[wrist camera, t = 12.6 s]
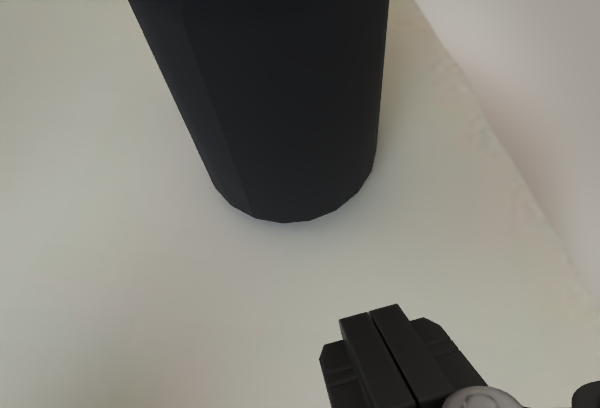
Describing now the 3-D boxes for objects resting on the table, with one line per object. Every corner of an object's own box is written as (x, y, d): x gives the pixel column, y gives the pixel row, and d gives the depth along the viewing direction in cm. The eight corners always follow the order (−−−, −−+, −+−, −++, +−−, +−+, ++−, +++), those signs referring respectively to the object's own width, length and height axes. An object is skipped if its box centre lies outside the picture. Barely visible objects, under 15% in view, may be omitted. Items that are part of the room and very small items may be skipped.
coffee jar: (397, 117, 33) (442, -212, 17) (340, 256, 28) (330, -16, 13) (254, 79, 36) (179, -234, 20) (182, 200, 31) (12, -80, 15)
